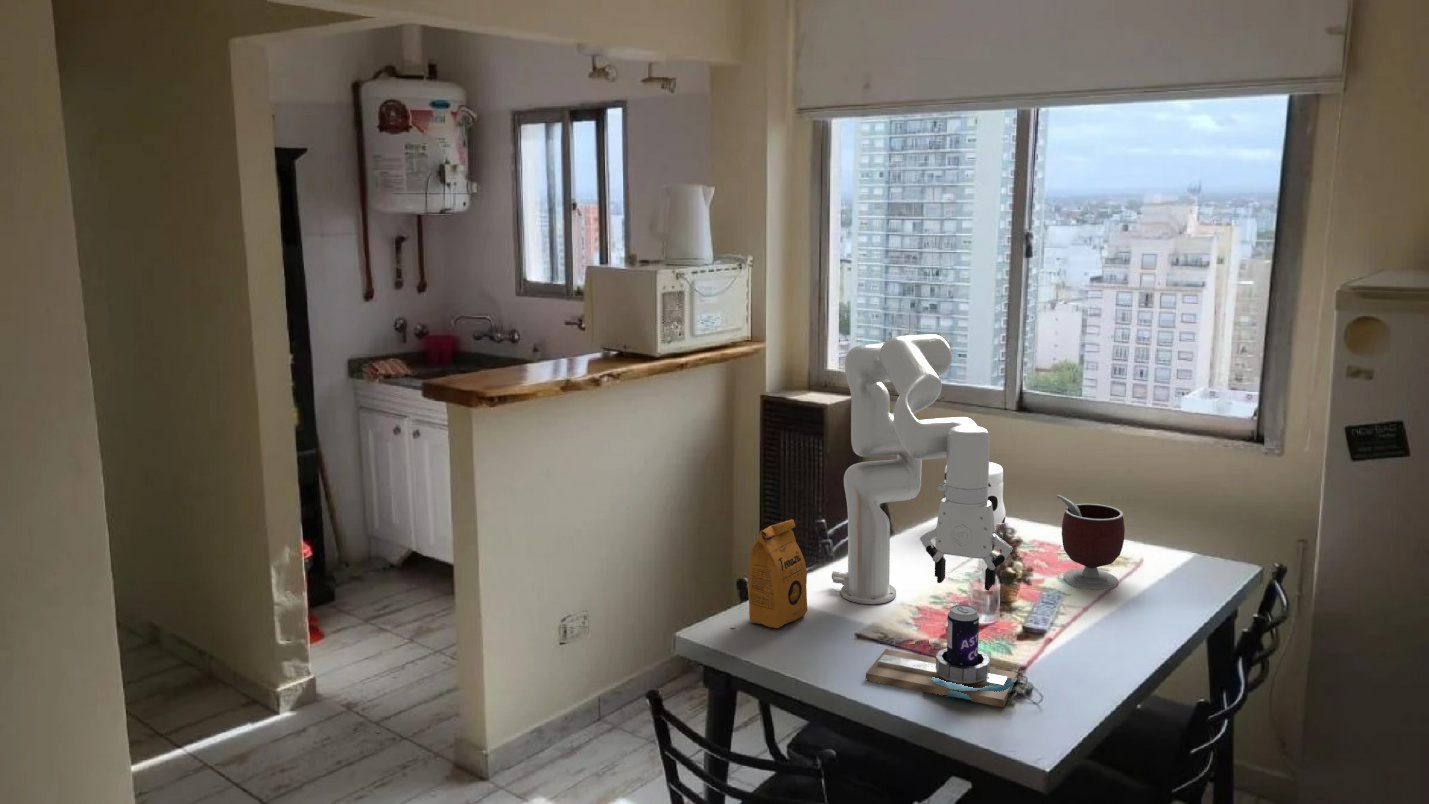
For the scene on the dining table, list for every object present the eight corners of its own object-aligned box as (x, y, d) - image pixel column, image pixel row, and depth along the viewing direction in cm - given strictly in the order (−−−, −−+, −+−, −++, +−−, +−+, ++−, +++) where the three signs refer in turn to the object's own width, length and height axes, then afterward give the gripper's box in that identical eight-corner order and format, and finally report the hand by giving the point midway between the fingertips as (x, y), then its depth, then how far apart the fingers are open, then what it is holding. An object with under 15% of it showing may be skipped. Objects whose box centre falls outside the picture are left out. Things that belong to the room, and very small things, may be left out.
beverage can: (960, 678, 196) (961, 617, 194) (940, 667, 201) (941, 607, 199) (983, 671, 198) (985, 611, 196) (963, 660, 203) (965, 601, 201)
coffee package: (814, 617, 233) (814, 522, 229) (776, 634, 224) (775, 535, 220) (781, 606, 240) (780, 512, 236) (742, 622, 231) (741, 525, 227)
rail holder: (872, 671, 203) (873, 652, 202) (888, 652, 211) (888, 633, 210) (999, 695, 192) (1000, 675, 191) (1010, 674, 200) (1011, 655, 200)
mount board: (865, 680, 203) (865, 673, 202) (885, 656, 213) (885, 648, 213) (1003, 707, 191) (1003, 699, 190) (1017, 680, 201) (1017, 672, 201)
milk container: (1004, 522, 296) (1006, 460, 293) (1005, 542, 280) (1008, 476, 276) (940, 519, 300) (942, 458, 297) (938, 538, 284) (940, 473, 280)
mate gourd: (1127, 576, 253) (1131, 496, 249) (1114, 595, 242) (1118, 511, 238) (1061, 565, 261) (1064, 487, 258) (1045, 583, 250) (1049, 502, 246)
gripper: (914, 493, 194) (913, 584, 197) (1011, 504, 186) (1007, 598, 189) (926, 483, 200) (924, 571, 203) (1019, 493, 192) (1016, 584, 196)
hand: (964, 584), depth 196 cm, fingers open, 8 cm apart
